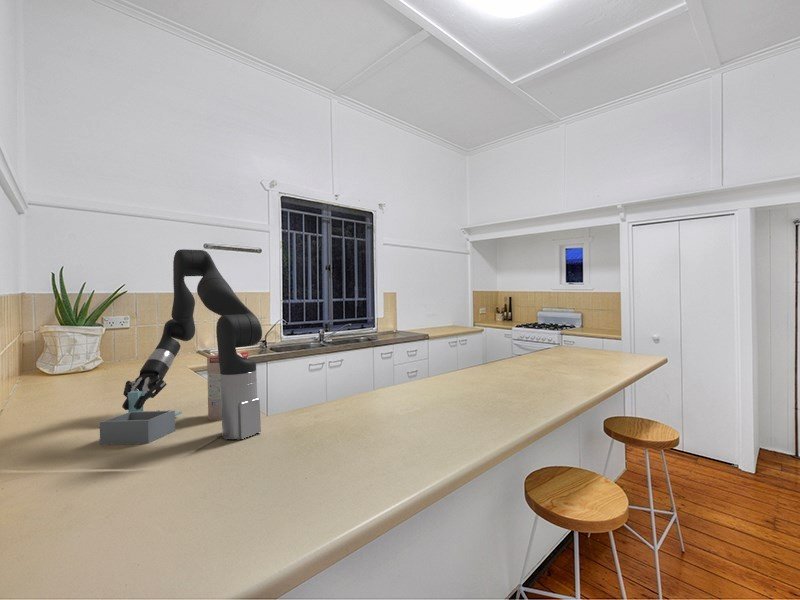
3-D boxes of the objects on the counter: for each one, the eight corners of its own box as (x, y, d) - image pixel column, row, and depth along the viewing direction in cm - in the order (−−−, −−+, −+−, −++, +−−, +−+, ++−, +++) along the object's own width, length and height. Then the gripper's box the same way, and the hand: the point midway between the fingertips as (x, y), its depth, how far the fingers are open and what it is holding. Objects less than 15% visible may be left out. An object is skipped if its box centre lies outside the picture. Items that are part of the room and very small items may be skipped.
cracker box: (224, 422, 117) (221, 355, 117) (207, 421, 118) (205, 355, 118) (251, 410, 130) (248, 350, 131) (235, 410, 131) (233, 351, 132)
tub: (175, 433, 107) (174, 410, 108) (148, 445, 98) (148, 420, 98) (130, 434, 109) (130, 411, 109) (100, 446, 99) (99, 421, 99)
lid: (182, 413, 125) (181, 387, 125) (157, 423, 114) (156, 394, 114) (141, 414, 126) (140, 388, 127) (112, 424, 115) (112, 396, 116)
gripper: (133, 359, 129) (102, 403, 117) (170, 357, 128) (144, 401, 115) (145, 371, 134) (117, 415, 122) (182, 370, 133) (157, 414, 120)
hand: (130, 408), depth 119 cm, fingers closed on lid, 3 cm apart
